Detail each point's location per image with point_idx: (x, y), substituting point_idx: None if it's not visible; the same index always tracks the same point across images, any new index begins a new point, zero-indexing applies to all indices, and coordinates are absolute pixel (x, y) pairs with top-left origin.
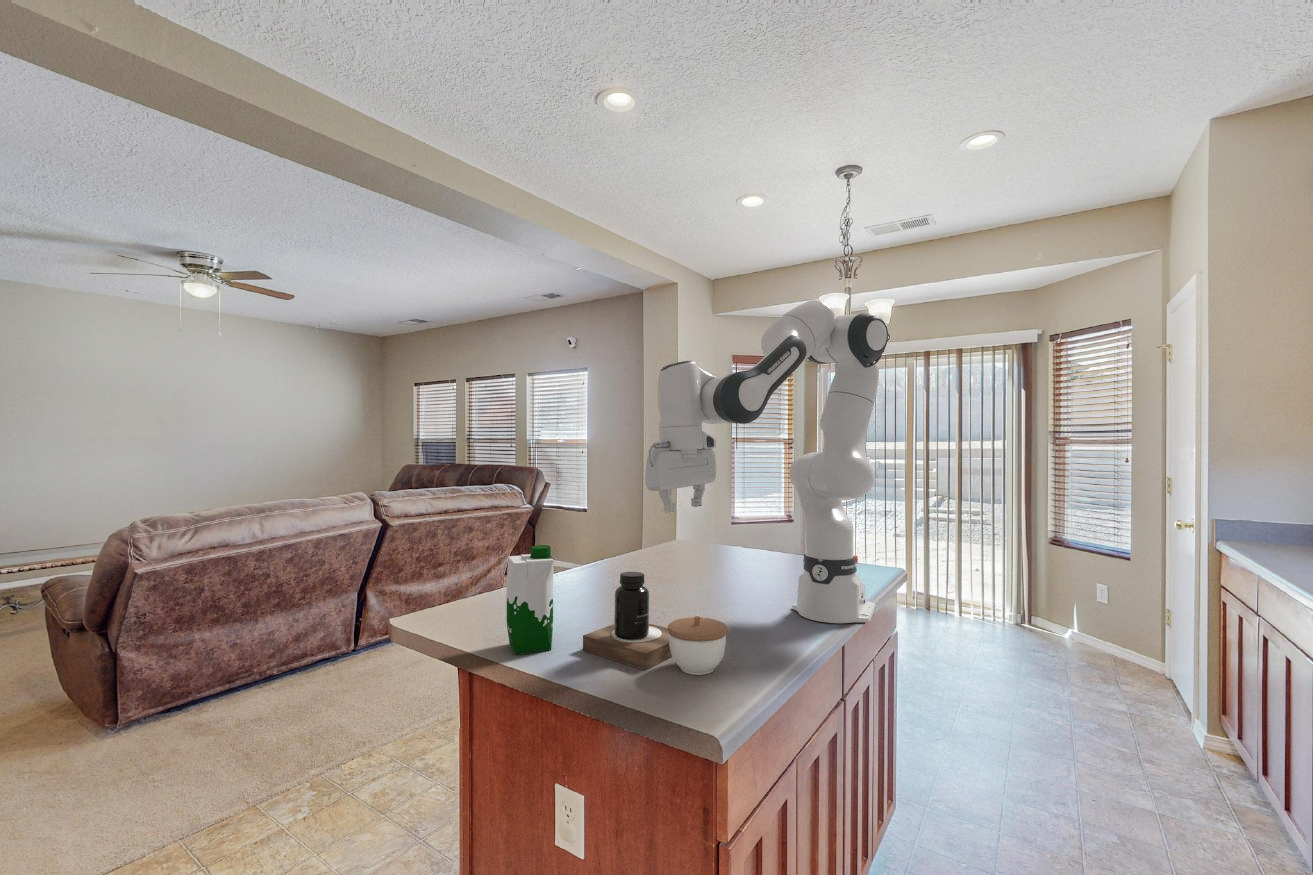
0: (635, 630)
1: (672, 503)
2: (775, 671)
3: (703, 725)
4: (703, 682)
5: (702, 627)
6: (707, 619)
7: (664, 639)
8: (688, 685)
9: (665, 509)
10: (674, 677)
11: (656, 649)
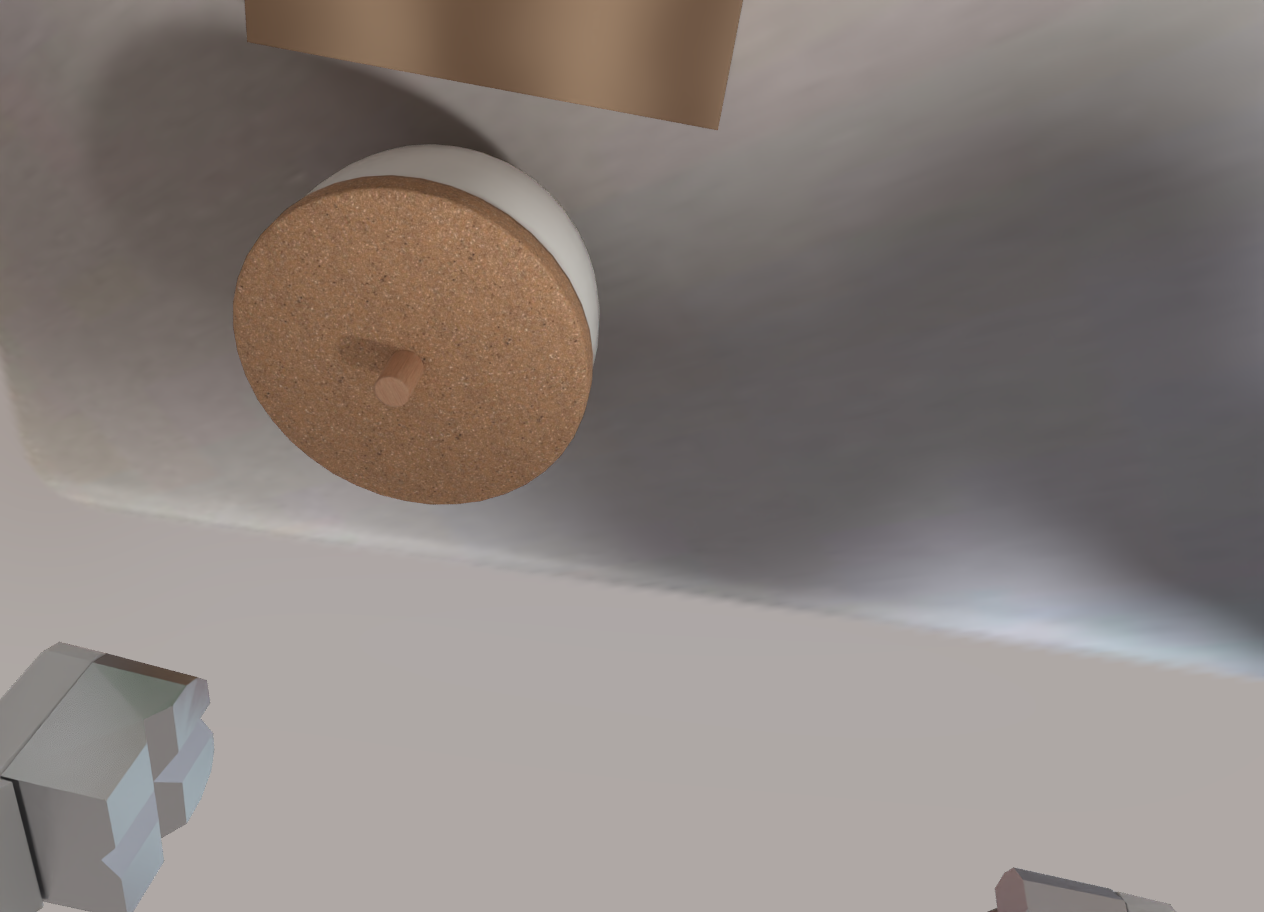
0: None
1: (22, 900)
2: (631, 547)
3: (54, 443)
4: None
5: (384, 404)
6: (541, 381)
7: (519, 29)
8: None
9: (36, 691)
10: None
11: (351, 60)
